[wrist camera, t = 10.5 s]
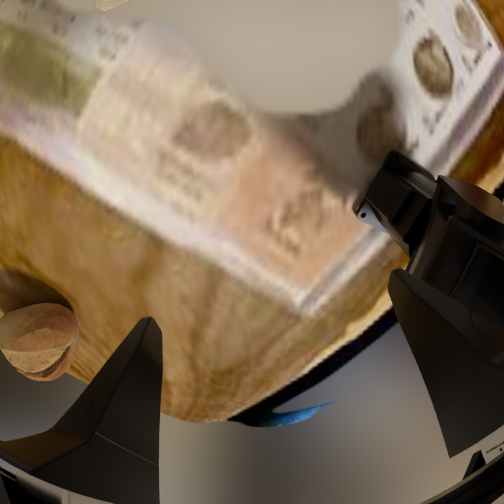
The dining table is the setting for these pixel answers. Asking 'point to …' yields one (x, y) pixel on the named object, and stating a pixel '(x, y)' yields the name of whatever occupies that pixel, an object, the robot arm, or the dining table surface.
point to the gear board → (108, 4)
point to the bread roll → (40, 340)
